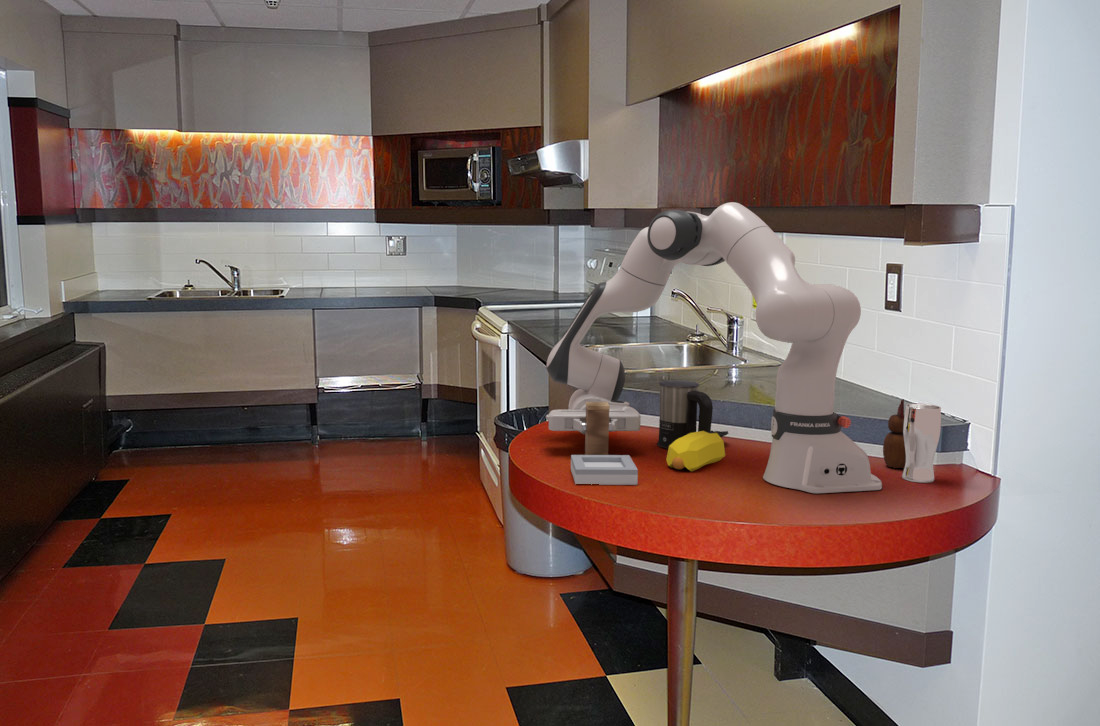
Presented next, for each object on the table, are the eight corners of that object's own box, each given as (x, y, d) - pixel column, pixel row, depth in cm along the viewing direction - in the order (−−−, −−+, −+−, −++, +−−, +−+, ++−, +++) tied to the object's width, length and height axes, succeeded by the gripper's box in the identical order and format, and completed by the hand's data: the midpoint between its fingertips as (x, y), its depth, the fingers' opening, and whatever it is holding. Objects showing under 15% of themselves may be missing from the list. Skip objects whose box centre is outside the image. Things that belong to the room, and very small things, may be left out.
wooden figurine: (907, 472, 191) (912, 401, 189) (879, 468, 194) (883, 398, 192) (914, 465, 197) (919, 396, 195) (886, 461, 200) (890, 394, 198)
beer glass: (937, 477, 188) (942, 405, 186) (936, 485, 181) (941, 410, 179) (900, 473, 190) (905, 402, 188) (898, 480, 184) (903, 407, 182)
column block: (605, 456, 199) (607, 402, 198) (608, 461, 195) (609, 406, 193) (584, 456, 199) (585, 402, 197) (586, 461, 194) (587, 405, 193)
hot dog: (658, 470, 190) (691, 476, 186) (659, 438, 189) (693, 443, 185) (699, 454, 205) (730, 460, 200) (700, 425, 204) (732, 430, 199)
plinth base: (628, 469, 189) (629, 455, 189) (637, 484, 177) (637, 469, 177) (570, 469, 189) (571, 454, 188) (575, 484, 177) (575, 469, 176)
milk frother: (649, 447, 211) (651, 383, 209) (678, 435, 224) (680, 375, 222) (707, 455, 203) (710, 389, 201) (733, 443, 216) (736, 381, 214)
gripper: (545, 401, 208) (548, 412, 194) (635, 401, 209) (644, 413, 195) (545, 428, 209) (548, 442, 195) (634, 429, 210) (644, 442, 196)
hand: (597, 427), depth 195 cm, fingers closed on column block, 4 cm apart
